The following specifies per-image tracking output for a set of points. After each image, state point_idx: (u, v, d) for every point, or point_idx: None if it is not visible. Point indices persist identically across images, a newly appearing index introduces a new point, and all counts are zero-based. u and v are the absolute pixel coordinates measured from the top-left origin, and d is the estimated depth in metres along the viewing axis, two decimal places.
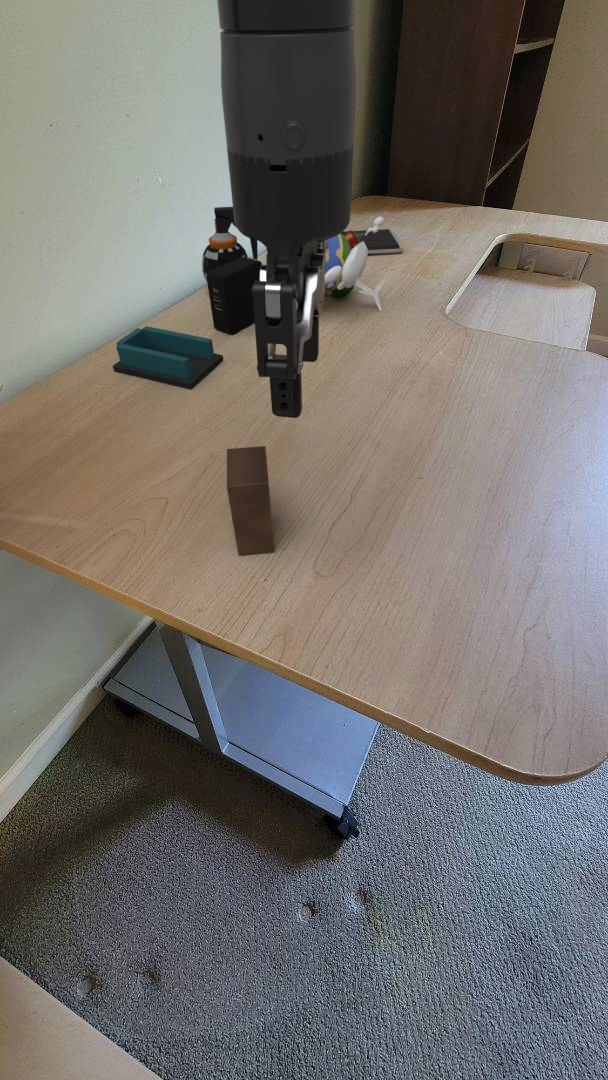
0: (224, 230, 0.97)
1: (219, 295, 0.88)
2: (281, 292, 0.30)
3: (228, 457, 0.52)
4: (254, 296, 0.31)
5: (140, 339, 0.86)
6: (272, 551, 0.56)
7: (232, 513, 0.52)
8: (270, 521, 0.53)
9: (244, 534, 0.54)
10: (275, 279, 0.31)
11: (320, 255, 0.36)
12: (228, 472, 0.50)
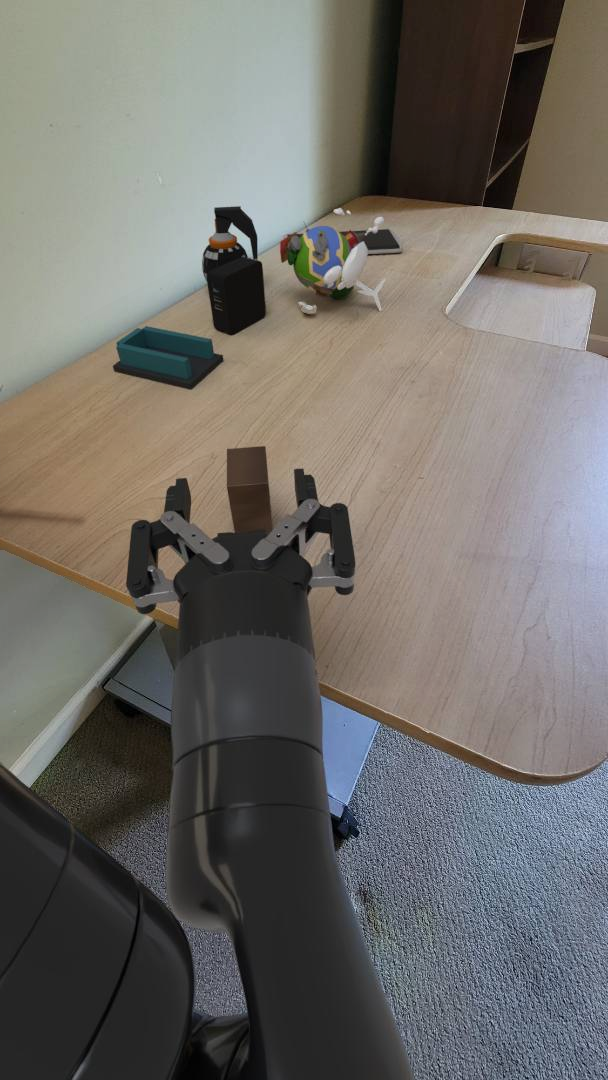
0: (224, 230, 0.97)
1: (219, 295, 0.88)
2: (135, 604, 0.31)
3: (228, 457, 0.52)
4: (126, 584, 0.30)
5: (140, 339, 0.86)
6: None
7: (232, 513, 0.52)
8: (270, 521, 0.53)
9: None
10: (155, 597, 0.31)
11: None
12: (228, 472, 0.50)
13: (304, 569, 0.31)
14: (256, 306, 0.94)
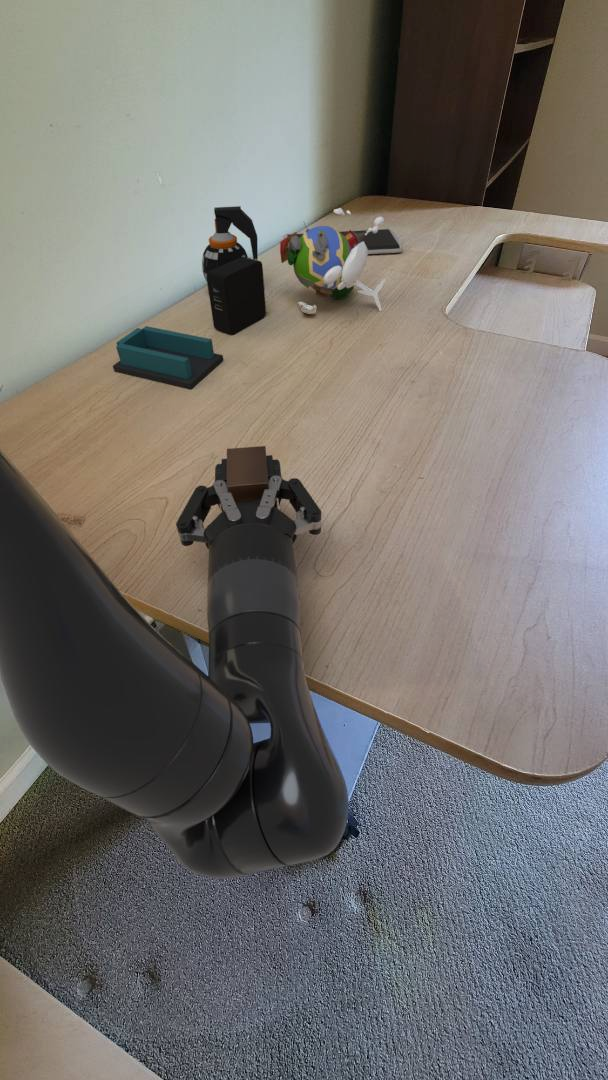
0: (224, 230, 0.97)
1: (219, 295, 0.88)
2: (180, 537, 0.48)
3: (228, 457, 0.52)
4: None
5: (140, 339, 0.86)
6: None
7: None
8: None
9: None
10: (191, 536, 0.47)
11: None
12: (228, 471, 0.50)
13: (291, 523, 0.47)
14: (256, 306, 0.94)
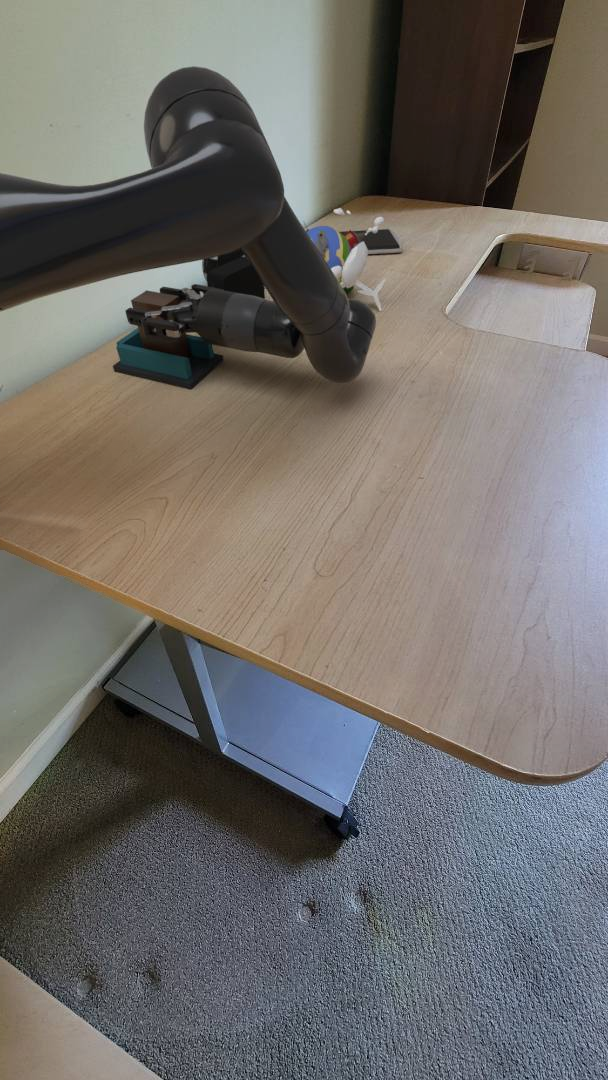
0: None
1: None
2: (176, 337, 0.72)
3: (139, 301, 0.77)
4: (171, 326, 0.71)
5: (140, 339, 0.86)
6: (189, 357, 0.85)
7: None
8: None
9: (176, 347, 0.81)
10: (181, 329, 0.73)
11: None
12: (152, 303, 0.76)
13: None
14: None
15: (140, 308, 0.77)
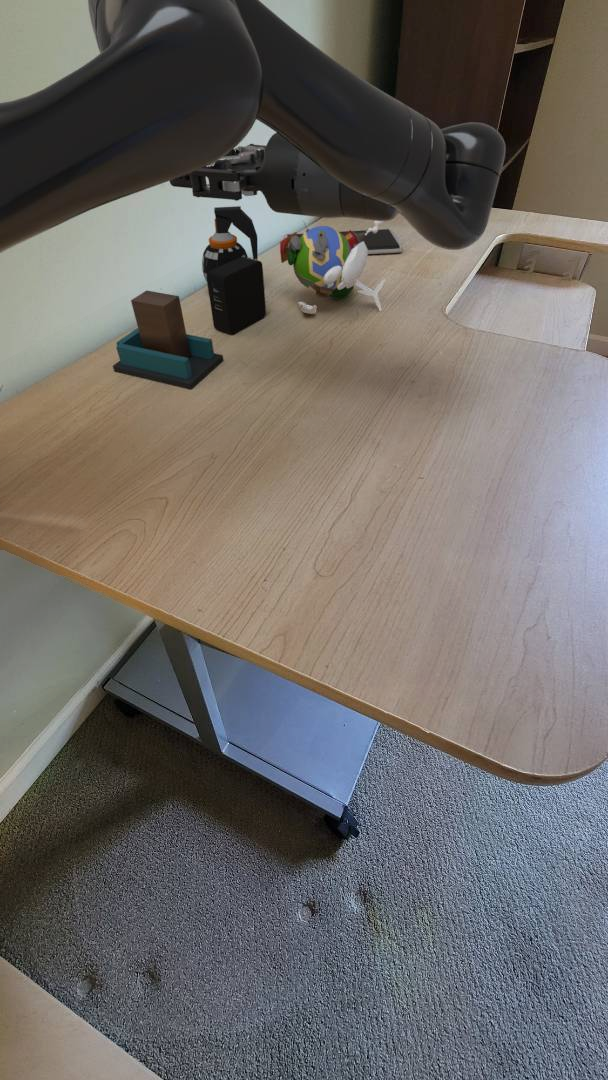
0: (224, 230, 0.97)
1: (219, 295, 0.88)
2: (235, 192, 0.55)
3: (139, 301, 0.77)
4: (231, 174, 0.54)
5: (140, 339, 0.86)
6: (189, 357, 0.85)
7: (169, 329, 0.78)
8: (184, 329, 0.81)
9: (176, 347, 0.81)
10: (242, 182, 0.56)
11: None
12: (152, 303, 0.76)
13: None
14: (256, 306, 0.94)
15: (140, 308, 0.77)
